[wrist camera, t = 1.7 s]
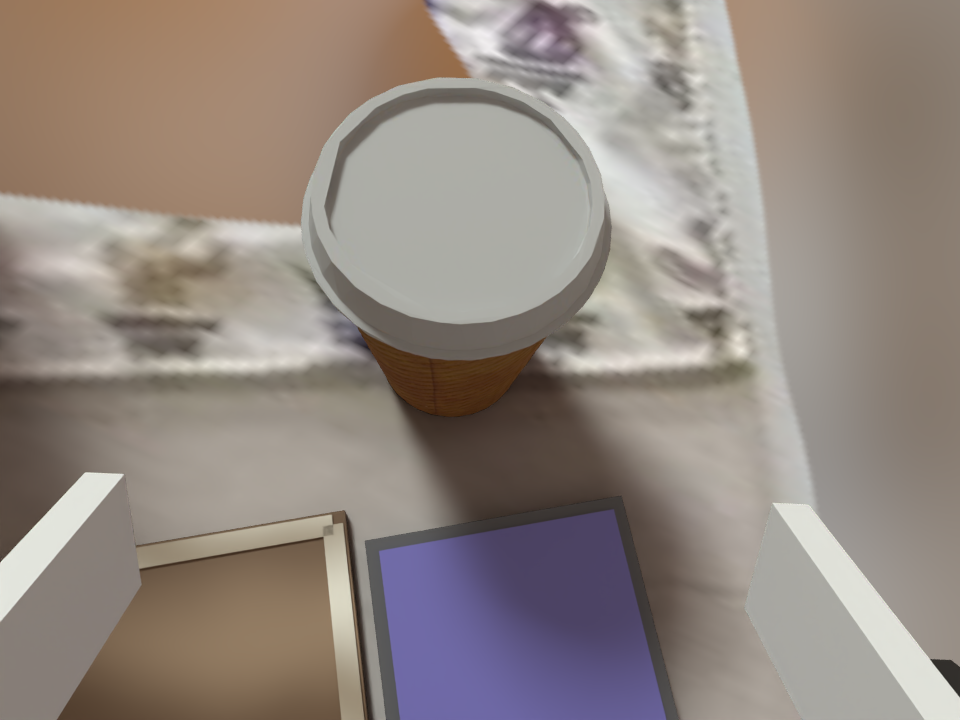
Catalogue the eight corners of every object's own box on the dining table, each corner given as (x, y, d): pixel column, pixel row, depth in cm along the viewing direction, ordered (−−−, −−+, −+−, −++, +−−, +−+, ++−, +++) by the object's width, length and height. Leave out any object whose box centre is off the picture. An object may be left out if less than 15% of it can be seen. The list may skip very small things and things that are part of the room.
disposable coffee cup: (432, 223, 34) (431, 19, 23) (595, 334, 32) (680, 172, 21) (298, 367, 31) (221, 211, 20) (471, 499, 29) (494, 410, 18)
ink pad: (367, 544, 28) (364, 540, 27) (615, 500, 29) (622, 494, 28) (403, 846, 24) (401, 856, 23) (686, 781, 26) (697, 787, 24)
